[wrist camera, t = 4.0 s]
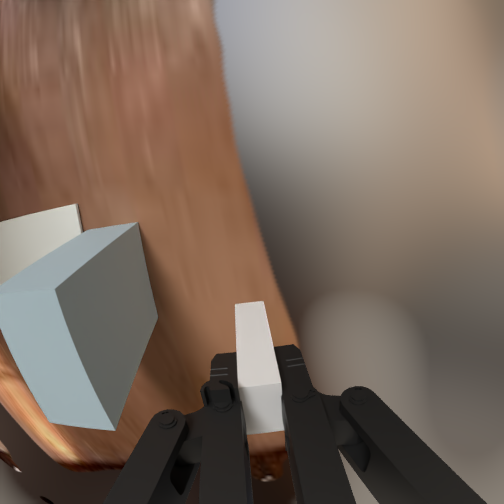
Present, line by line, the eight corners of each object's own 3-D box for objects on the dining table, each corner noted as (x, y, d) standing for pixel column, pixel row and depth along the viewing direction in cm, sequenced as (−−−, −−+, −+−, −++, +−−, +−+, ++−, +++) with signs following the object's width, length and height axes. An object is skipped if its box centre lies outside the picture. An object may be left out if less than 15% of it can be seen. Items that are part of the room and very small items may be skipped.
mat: (12, 341, 28) (10, 343, 27) (-24, 228, 23) (-26, 229, 23) (113, 342, 28) (112, 344, 28) (77, 203, 24) (75, 204, 24)
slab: (110, 320, 27) (49, 422, 14) (87, 230, 25) (-13, 294, 11) (158, 317, 28) (115, 430, 14) (137, 222, 25) (54, 289, 12)
